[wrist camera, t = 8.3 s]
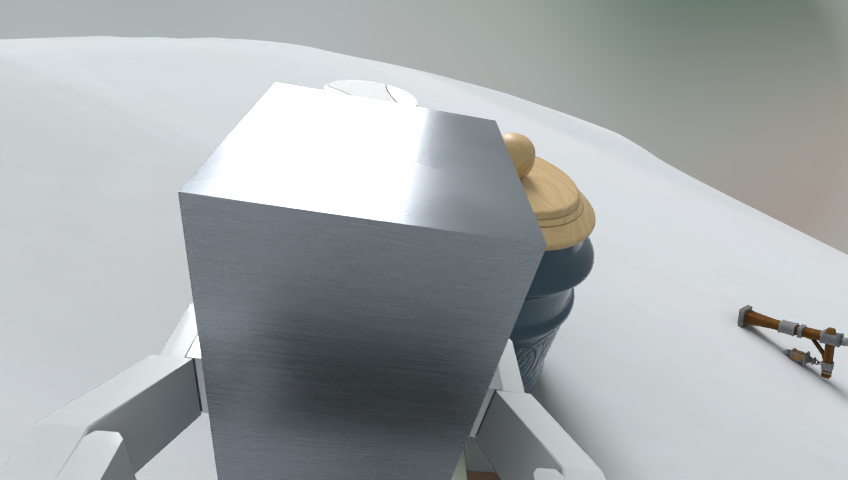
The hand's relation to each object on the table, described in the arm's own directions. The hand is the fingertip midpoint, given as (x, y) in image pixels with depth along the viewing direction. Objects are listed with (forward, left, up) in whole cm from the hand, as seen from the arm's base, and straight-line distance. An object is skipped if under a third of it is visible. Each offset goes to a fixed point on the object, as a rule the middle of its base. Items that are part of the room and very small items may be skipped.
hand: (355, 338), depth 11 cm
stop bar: (0, -1, -7) cm, 8 cm away
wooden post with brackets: (+44, -1, -18) cm, 48 cm away
